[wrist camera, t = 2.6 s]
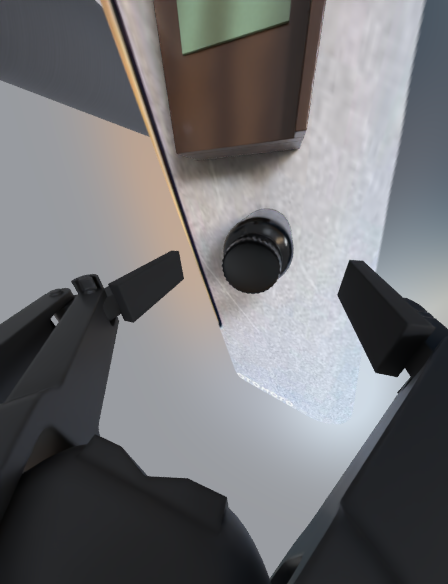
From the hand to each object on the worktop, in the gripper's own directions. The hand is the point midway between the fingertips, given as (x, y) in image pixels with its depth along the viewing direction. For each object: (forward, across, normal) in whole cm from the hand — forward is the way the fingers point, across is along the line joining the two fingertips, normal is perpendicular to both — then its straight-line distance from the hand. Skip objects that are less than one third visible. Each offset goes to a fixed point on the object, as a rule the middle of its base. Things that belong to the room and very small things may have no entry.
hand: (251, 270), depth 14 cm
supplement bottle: (+12, 0, 0) cm, 12 cm away
